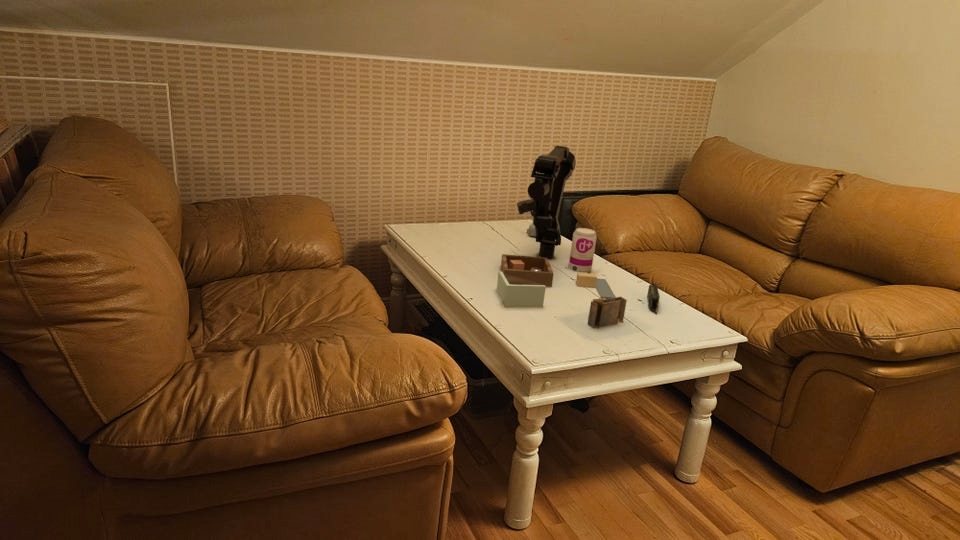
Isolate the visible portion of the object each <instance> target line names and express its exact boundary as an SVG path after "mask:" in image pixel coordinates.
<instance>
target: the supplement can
mask: <svg viewBox="0 0 960 540" xmlns="http://www.w3.org/2000/svg"><path fill="white" fill-rule="evenodd" d="M596 245H597V234H596V231H595V230H594V229H591V228H587V227H586V228H585V227H578V228H576V229H575V230H574V232H573V233H572V241H571V247H570V254H569V261H568V269H569V270H571V271H573V272H576V273H588V274H590V272H591V271H592V270H593V269H592V267H593V261H594V257H595V256H594V255H595V249H596Z"/></svg>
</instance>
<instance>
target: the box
mask: <svg viewBox="0 0 960 540" xmlns="http://www.w3.org/2000/svg"><path fill="white" fill-rule="evenodd" d="M510 260H521V261H522V262H523V263H524V264H525V265H524V270H515V269H509V263H510ZM533 267H536V268H540V269H542V272H541V271H531V268H533ZM500 271H502V272H503V274H504V276H505V277H506V279H507V281H508V283H509V284H510V285H545V286H546V288H553V282H554V281H553V280H554V271H553V269H552V266H551V263H550V260H548V258H544V257H539V256H529V255H528V256H527V255H520V254H519V255H518V254H517V255H516V254H505V253H502V254H501V263H500Z"/></svg>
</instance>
